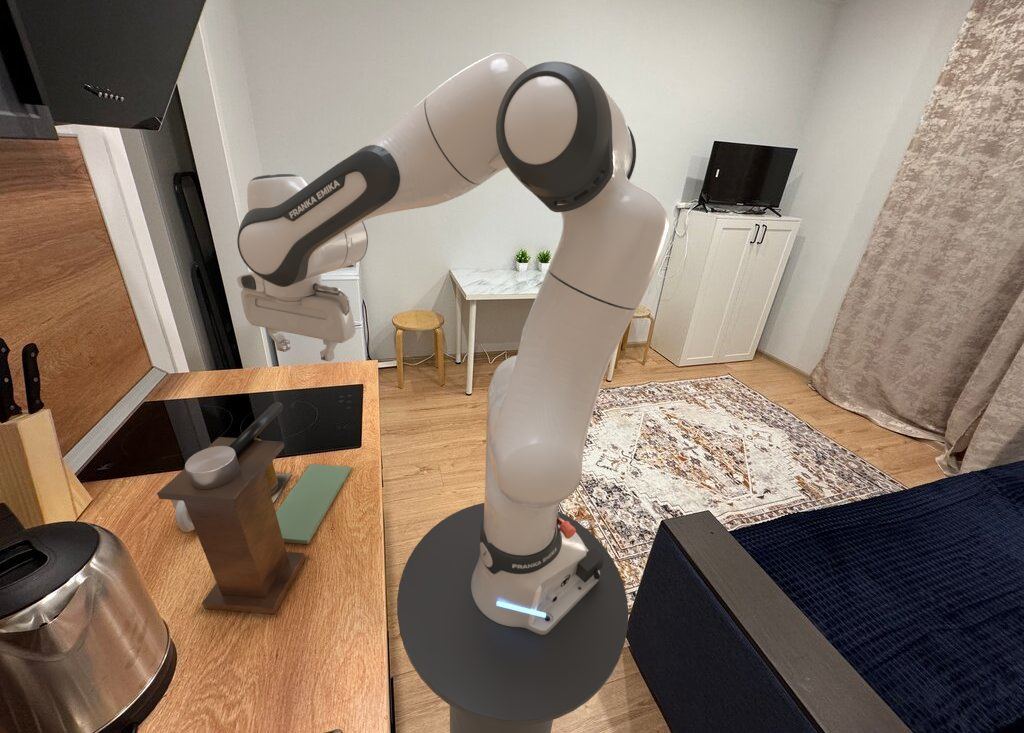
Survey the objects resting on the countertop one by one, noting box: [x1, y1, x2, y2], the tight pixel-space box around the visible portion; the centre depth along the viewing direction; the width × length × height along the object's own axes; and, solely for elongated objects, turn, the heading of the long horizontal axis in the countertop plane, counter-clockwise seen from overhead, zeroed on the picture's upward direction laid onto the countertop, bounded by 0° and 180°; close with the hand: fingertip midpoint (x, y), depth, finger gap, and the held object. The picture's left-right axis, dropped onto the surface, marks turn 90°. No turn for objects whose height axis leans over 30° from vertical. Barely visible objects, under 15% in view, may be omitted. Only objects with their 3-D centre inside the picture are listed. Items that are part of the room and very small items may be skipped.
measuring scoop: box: [184, 401, 284, 489], centre depth 62 cm, size 19×6×3 cm, turn 178°
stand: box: [156, 436, 306, 615], centre depth 64 cm, size 12×11×24 cm
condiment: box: [254, 437, 292, 504], centre depth 84 cm, size 7×8×12 cm
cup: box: [170, 500, 195, 533], centre depth 77 cm, size 7×10×9 cm
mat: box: [275, 463, 352, 545], centre depth 84 cm, size 20×9×1 cm, turn 178°
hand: (305, 354), depth 76 cm, fingers open, 8 cm apart
